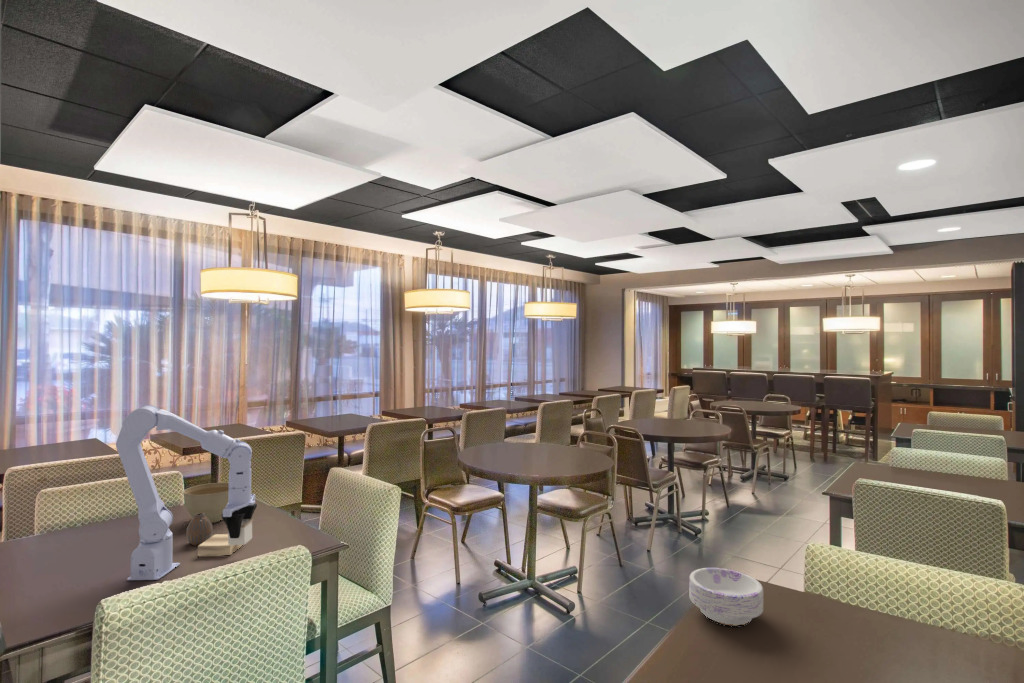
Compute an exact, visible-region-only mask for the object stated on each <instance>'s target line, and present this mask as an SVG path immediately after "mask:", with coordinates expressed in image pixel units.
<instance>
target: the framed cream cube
mask: <svg viewBox="0 0 1024 683" xmlns="http://www.w3.org/2000/svg"><path fill="white" fill-rule="evenodd" d="M253 522H254V519H253V518H251V519H243V520H242V523H241V529H240V535H239V538H230V535H229V531H228V530H227V534H228V545H243V546H245V545H247V543H248V542H249V541H251V540H252V539H253Z"/></svg>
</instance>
